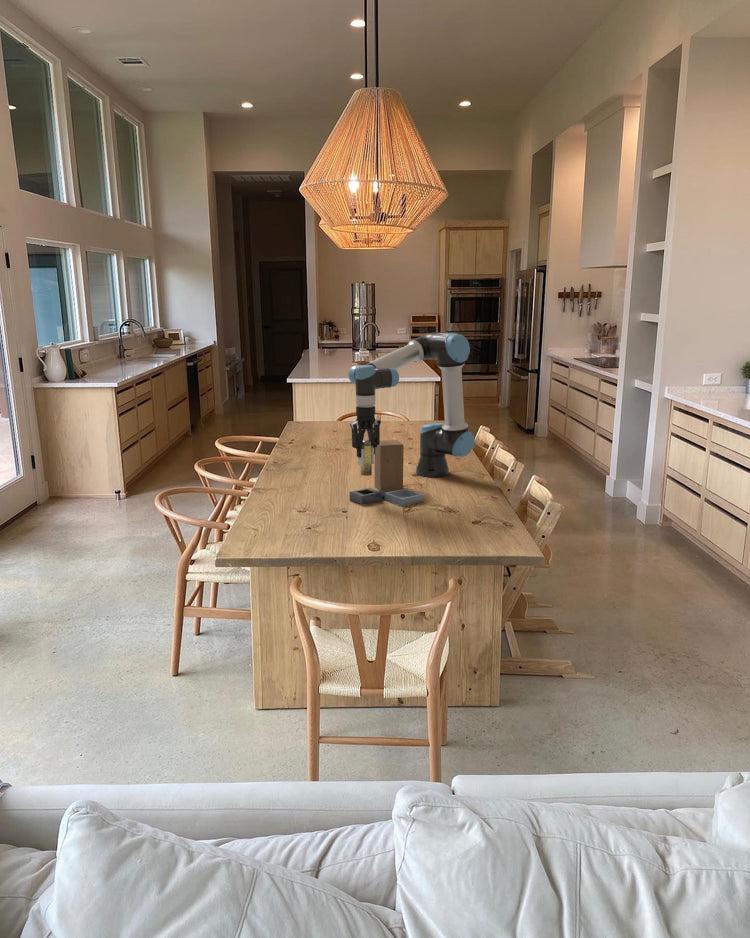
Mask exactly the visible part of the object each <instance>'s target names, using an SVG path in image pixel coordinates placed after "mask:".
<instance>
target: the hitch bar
mask: <svg viewBox="0 0 750 938" xmlns="http://www.w3.org/2000/svg"><path fill="white" fill-rule="evenodd" d="M387 492H392V491H390V490H387V489H385V490H380V491H379V490H378V489H377V490H376V489H373V488H371V487H368V488H363V489H358V490H352V491H349V501H350V502H352V503H354V504H355V503H356V504H358V505H360V506H363V505H368V504H373V503H378V502H381V501H383V500H384V501H385V493H387Z"/></svg>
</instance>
